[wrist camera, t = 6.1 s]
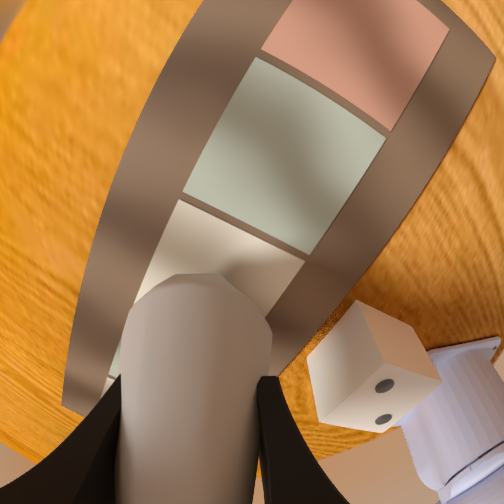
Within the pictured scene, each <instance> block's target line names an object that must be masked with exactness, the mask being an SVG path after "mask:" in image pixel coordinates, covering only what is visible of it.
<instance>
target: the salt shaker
mask: <svg viewBox="0 0 504 504" xmlns="http://www.w3.org/2000/svg"><path fill="white" fill-rule="evenodd" d="M272 335H273V334H272V331H271V329H270V326H269V324H268V323H267V321H266V320H265V318H264V317H263V315H262V313H261V312H260V310H259V309H258V307H257V306H256V304H255V303H254V302H253V301H252V300H251V299H249V298H248V297H247V296H245V295H244V294H242V293H241V292H240V291H238V290H237V289H236V288H234V287H233V286H232V285H231V284H230V283H229V282H228V281H227V280H226V279H225V278H224V277H223V276H222V275H221V274H220V273H195V274H175V275H173V276H171V277H169V278H168V279H166V280H164V281H162V282H161V283H159V284H157V285H156V286H154V287H153V288H152V289H151V290H150V291H149V292H147V293H146V294H145V295H144V296H143V297H142V298H140V299H139V300H138V301H137V302H136V303H135V304H134V305H133V307H132V308H131V309H130V311H129V313H128V317H127V320H126V323H125V326H124V330H123V333H122V339H121V348H120V358H119V369H118V375H119V374H120V373H121V394H122V406H121V416H120V426H119V437H118V443H117V449H116V455H115V463H114V482H115V504H252V501H253V494H254V487H255V480H256V472H257V465H258V457H259V449H260V441H261V430H260V422H259V413H258V404H257V383H258V381H259V379H260V378H261V376H269V368H270V361H271V349H272Z"/></svg>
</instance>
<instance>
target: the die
mask: <svg viewBox="0 0 504 504" xmlns="http://www.w3.org/2000/svg"><path fill="white" fill-rule="evenodd" d="M307 363H308V368H309V373H310V378H311V383H312V388H313V394H314V399H315V404H316V409H317V415H318V420H319V422H321V423H326V424H331V425H336V426H341V427H347V428H353V429H359V430H365V431H372V432H378V433H383V432H385V431H386V430H387V429H388V428H390V427H391V426H392V425H394V424H395V423H396V422H397V421H399V420H400V419H401V418H402V417H404V416H405V415H406V414H407V413H408V412H410V411H411V410H412V409H413V408H414V407H416V406H417V405H418V404H419V403H420V402H421V401H423V400H424V399H425V398H426V397H427V396H428V395H429V394H430V393H431V392H433V391H434V390H435V389H436V388H437V387H438V386H439V385H440V384H441V383H442V382H443V381H442V379H441V377H440V375H439V373H438V372H437V370H436V368H435V366H434V364H433V362H432V361H431V359H430V357H429V355H428V354H427V352H426V350H425V348H424V346H423V345H422V343H421V341H420V340H419V338H418V336H417V334H416V333H415V331H414V329H413V328H412V326H410V325H408V324H406V323H404V322H402V321H400V320H398V319H396V318H394V317H392V316H390V315H387V314H385V313H383V312H381V311H379V310H377V309H375V308H373V307H371V306H369V305H367V304H365V303H363V302H361V301H358V300H355V301H354V303H353V304H352V305H351V306H350V308H349V309H348V310H347V311H346V312H345V314H344V315H343V316H342V317H341V318H340V320H339V321H338V322H337V323H336V324H335V326H334V327H333V328H332V329H331V330H330V331H329V333H328V334H327V335H326V336H325V337H324V338H323V340H322V341H321V342H320V343H319V344H318V345H317V346H316V348H315V349H314V350H313V351H312V352H311V353H310V354H309V355H308V356H307Z"/></svg>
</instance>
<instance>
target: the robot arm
mask: <svg viewBox="0 0 504 504" xmlns="http://www.w3.org/2000/svg"><path fill="white" fill-rule="evenodd" d="M500 343H501V338H500V337H499V336H496V337H492V338H488V339H483V340H479V341H474V342H469V343H464V344H459V345H454V346H449V347H443V348H437V349H432V350H429V351H428V352H427V354H428V355H429V357H430V359H431V361H432V362H433V364H434V366H435V368H436V370H437V372H438V373H439V375H440V377H441V379H442V381H443V382H442V383H441V384H440V385H439V386H438V387H437V388H436V389H435V390H434V391H433V392H431V393H430V394H429V395H428V396H427V397H426V398H425V399H424V400H423V401H421V402H420V403H419V404H418V405H417V406H416V407H414V408H413V409H412V410H411V411H410V412H408V413H407V414H406V415H405V416H404V417H402V418H401V419H400V420H399V421H397V422H396V423H395V424H394V425H392V426H393V427H395V426H400V425H401V427H402V430H403V433H404V435H405V438H406V441H407V444H408V447H409V450H410V453H411V456H412V459H413V462H414V465H415V468H416V471H417V474H418V476H419V478H420V479H421V481H422V482H423V483H424V484H425V485H426V486H427V487H429V488H431V489H433V490H435V491H437V492H438V495H439V498H440V500H439V501H438V502H437V503H436V504H504V382H503V381H502V379H501V378H500V376H499V375H498V373H497V371H496V370H495V368H494V367H493V365H492V364H491V362H490V361H491V359H492V358H493V356H494V354H495V352H496V350H497V349H498V347H499V345H500ZM257 404H258V413H259V422H260V430H261V441H260V449H259V460H260V468H261V475H262V483H263V490H264V500H265V504H350V503H349V502H348V501H347V500H346V499H345V498H344V497H343V495H342V494H341V493H340V492H339V491H338V490H337V488H336V487H335V486H334V484H333V483H332V482H331V481H330V479H329V478H328V477H327V475H326V474H325V472H324V471H323V470H322V468H321V467H320V465H319V464H318V462H317V461H316V459H315V457H314V456H313V454H312V452H311V451H310V449H309V447H308V446H307V444H306V442H305V440H304V439H303V437H302V435H301V433H300V431H299V429H298V427H297V425H296V423H295V421H294V419H293V417H292V415H291V412H290V410H289V408H288V405H287V403H286V400H285V397H284V395H283V392H282V389H281V385H280V381H279V378H278V377H277V376H261V378H260V379H259V381H258V383H257ZM121 406H122V394H121V373H120V374H119V375H118V377H117V378H116V379H115V381H114V382H113V383H112V385H111V386H110V387H109V389H108V390H107V391H106V392H105V394H104V395H103V396H102V398H101V399H100V400H99V401H98V403H97V404H96V405H95V406H94V408H93V409H92V410H91V411H90V412H89V414H88V415H87V416H86V417H85V418H84V420H83V421H82V422H81V423H80V424H79V425H78V426H77V427H76V428H75V430H74V431H73V432H72V433H71V434H70V435H69V436H68V437H67V438H66V439H65V440H64V441H63V442H62V443H61V444H60V445H59V446H58V447H57V448H56V449H55V450H54V451H53V452H51V453H50V454H49V455H48V456H47V457H46V458H44V459H43V460H42V461H41V462H40V463H38V464H37V465H36V466H35V467H33V468H32V469H30V470H29V471H28V472H26V473H25V474H23V475H21V476H20V477H19V478H17V479H15V480H14V481H12V482H11V483H9V484H7V485H5V486H3V487H1V488H0V504H115V482H114V463H115V455H116V449H117V443H118V437H119V426H120V416H121Z"/></svg>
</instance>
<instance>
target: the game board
mask: <svg viewBox="0 0 504 504" xmlns="http://www.w3.org/2000/svg"><path fill="white" fill-rule="evenodd" d="M495 59H496V57H495V55H494V54H493V53H492V52H491V51H490V50H489V48H488V47H487V46H486V45H485V44H484V43H483V42H482V41H481V39H480V38H479V37H478V36H477V35H476V34H475V33H474V32H473V31H472V30H471V29H470V28H469V27H468V26H467V25H466V24H465V23H464V22H463V21H462V20H461V19H460V18H459V17H458V16H457V15H456V14H455V13H454V12H453V11H452V10H451V9H450V8H449V7H448V6H446V5H445V4H444V3H443V2H442V1H441V0H204V1H203V2H202V4H201V5H200V7H199V8H198V10H197V11H196V13H195V14H194V16H193V18H192V19H191V21H190V22H189V24H188V26H187V27H186V29H185V31H184V32H183V34H182V36H181V37H180V39H179V41H178V43H177V44H176V46H175V48H174V50H173V51H172V53H171V55H170V57H169V59H168V60H167V62H166V64H165V66H164V68H163V70H162V72H161V74H160V75H159V77H158V79H157V81H156V83H155V85H154V87H153V89H152V91H151V93H150V95H149V97H148V99H147V102H146V104H145V106H144V108H143V110H142V112H141V114H140V117H139V119H138V121H137V123H136V125H135V128H134V130H133V132H132V135H131V137H130V139H129V142H128V144H127V146H126V149H125V151H124V154H123V156H122V159H121V161H120V164H119V166H118V169H117V172H116V174H115V177H114V180H113V182H112V185H111V188H110V191H109V194H108V196H107V199H106V202H105V205H104V208H103V211H102V214H101V217H100V221H99V224H98V227H97V230H96V233H95V237H94V240H93V244H92V247H91V251H90V254H89V258H88V261H87V265H86V269H85V273H84V277H83V281H82V285H81V289H80V294H79V298H78V303H77V307H76V312H75V317H74V322H73V327H72V332H71V338H70V344H69V350H68V356H67V363H66V370H65V377H64V386H63V395H62V405H61V406H63V407H65V408H67V409H69V410H71V411H74V412H76V413H78V414H80V415H82V416H84V417H86V416H87V415H88V414H89V412H90V411H91V410H92V409H93V408H94V406H95V405H96V404H97V403H98V401H99V400H100V399H101V398H102V396H103V395H104V394H105V392H106V391H107V390H108V389H109V387H110V386H111V385H112V383H113V382H114V381H115V379H116V378H117V377H118V369H119V358H120V348H121V339H122V333H123V330H124V326H125V323H126V320H127V317H128V313H129V311H130V309H131V308H132V307H133V305H134V304H135V303H136V302H137V301H138V300H139V299H140V298H142V297H143V296H144V295H145V294H146V293H147V292H149V291H150V290H151V289H152V288H153V287H154V286H156V285H157V284H159V283H161V282H162V281H164V280H166V279H168V278H169V277H171V276H173V275H175V274H195V273H220V274H221V275H222V276H223V277H224V278H225V279H226V280H227V281H228V282H229V283H230V284H231V285H232V286H233V287H234V288H236V289H237V290H238V291H240V292H241V293H242V294H244V295H245V296H247V297H248V298H249V299H251V300H252V301H253V302H254V303H255V304H256V306H257V307H258V309H259V310H260V312H261V313H262V315H263V317H264V318H265V320H266V321H267V323H268V324H269V326H270V329H271V331H272V334H273V335H272V349H271V361H270V368H269V376H278V375H279V374H280V373H281V372H282V370H283V369H284V368H285V367H286V366H287V365H288V364H289V363H290V362H291V361H292V359H293V358H294V357H295V356H296V355H297V354H298V353H299V352H300V350H301V349H302V348H303V347H304V346H305V345H306V344H307V342H308V341H309V340H310V339H311V338H312V337H313V336H314V334H315V333H316V332H317V331H318V330H319V328H320V327H321V326H322V325H323V324H324V323H325V321H326V320H327V319H328V318H329V317H330V315H331V314H332V313H333V312H334V310H335V309H336V308H337V307H338V306H339V304H340V303H341V302H342V301H343V299H344V298H345V297H346V296H347V294H348V293H349V292H350V291H351V289H352V288H353V287H354V285H355V284H356V283H357V282H358V280H359V279H360V278H361V276H362V275H363V274H364V272H365V271H366V270H367V268H368V267H369V266H370V265H371V263H372V262H373V261H374V259H375V258H376V256H377V255H378V254H379V252H380V251H381V250H382V248H383V247H384V246H385V244H386V243H387V241H388V240H389V239H390V237H391V236H392V234H393V233H394V232H395V230H396V229H397V227H398V226H399V224H400V223H401V221H402V220H403V219H404V217H405V216H406V214H407V213H408V211H409V210H410V208H411V207H412V205H413V204H414V202H415V201H416V199H417V198H418V196H419V195H420V193H421V192H422V190H423V189H424V187H425V185H426V184H427V182H428V181H429V179H430V178H431V176H432V174H433V173H434V171H435V170H436V168H437V166H438V165H439V163H440V161H441V160H442V158H443V157H444V155H445V153H446V151H447V150H448V148H449V146H450V145H451V143H452V141H453V140H454V138H455V136H456V134H457V133H458V131H459V129H460V127H461V125H462V124H463V122H464V120H465V118H466V116H467V115H468V113H469V111H470V109H471V107H472V105H473V103H474V101H475V99H476V98H477V96H478V94H479V92H480V90H481V88H482V86H483V84H484V82H485V80H486V78H487V76H488V74H489V71H490V69H491V67H492V65H493V63H494V61H495Z"/></svg>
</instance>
